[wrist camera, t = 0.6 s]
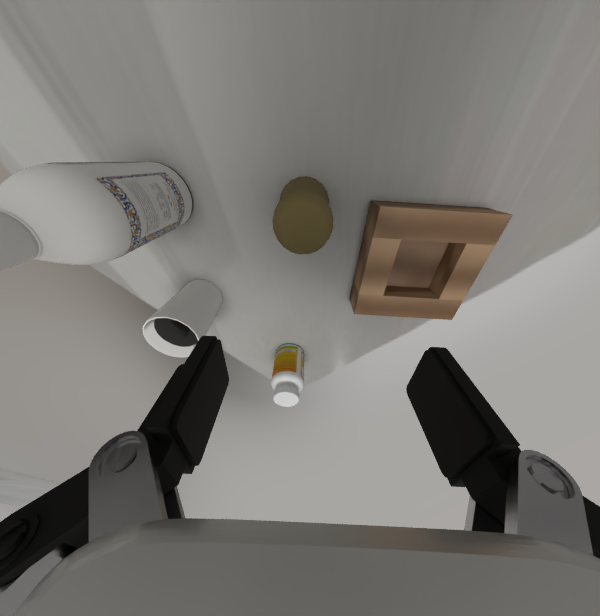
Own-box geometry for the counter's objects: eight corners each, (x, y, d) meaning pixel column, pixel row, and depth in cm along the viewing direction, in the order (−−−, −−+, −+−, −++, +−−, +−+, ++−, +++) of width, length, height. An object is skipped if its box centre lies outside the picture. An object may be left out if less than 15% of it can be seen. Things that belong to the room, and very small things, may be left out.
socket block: (371, 200, 26) (380, 206, 22) (486, 207, 26) (512, 214, 23) (349, 298, 34) (354, 313, 30) (437, 304, 34) (451, 319, 31)
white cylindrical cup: (188, 268, 32) (146, 307, 23) (231, 289, 33) (206, 331, 25) (178, 301, 35) (138, 344, 27) (217, 318, 37) (192, 364, 28)
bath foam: (133, 210, 27) (-136, 287, 11) (135, 148, 24) (-266, 122, 7) (188, 235, 29) (30, 335, 12) (199, 181, 25) (-7, 221, 9)
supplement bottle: (270, 353, 41) (261, 399, 33) (289, 338, 39) (284, 384, 31) (290, 366, 43) (287, 413, 35) (309, 353, 41) (310, 400, 33)
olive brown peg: (336, 215, 27) (352, 243, 18) (295, 238, 29) (289, 275, 20) (314, 164, 24) (319, 167, 15) (269, 194, 26) (249, 213, 17)
